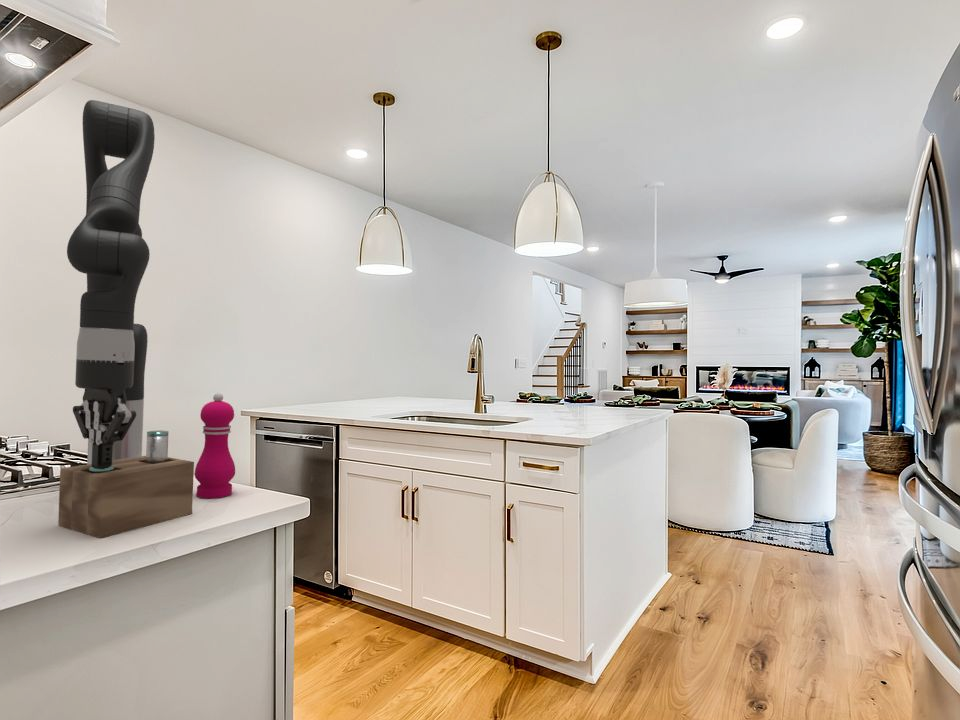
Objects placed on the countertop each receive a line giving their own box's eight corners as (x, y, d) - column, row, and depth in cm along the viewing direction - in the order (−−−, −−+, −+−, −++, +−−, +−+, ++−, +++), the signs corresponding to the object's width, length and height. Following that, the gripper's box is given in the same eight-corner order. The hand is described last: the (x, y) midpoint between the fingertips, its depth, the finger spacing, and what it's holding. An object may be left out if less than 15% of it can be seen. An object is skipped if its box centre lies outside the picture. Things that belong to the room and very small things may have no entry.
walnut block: (58, 525, 85) (60, 468, 85) (151, 503, 99) (152, 454, 99) (100, 538, 80) (102, 477, 80) (192, 513, 94) (194, 461, 94)
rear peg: (141, 478, 93) (142, 431, 93) (158, 475, 96) (160, 430, 96) (153, 481, 91) (154, 433, 91) (170, 477, 94) (172, 431, 94)
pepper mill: (204, 501, 102) (208, 395, 102) (186, 494, 106) (190, 392, 106) (241, 494, 107) (245, 394, 107) (223, 488, 112) (226, 391, 112)
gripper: (54, 355, 85) (50, 466, 85) (106, 359, 79) (102, 477, 79) (105, 356, 92) (101, 459, 92) (156, 359, 86) (152, 468, 86)
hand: (101, 467), depth 85 cm, fingers closed
